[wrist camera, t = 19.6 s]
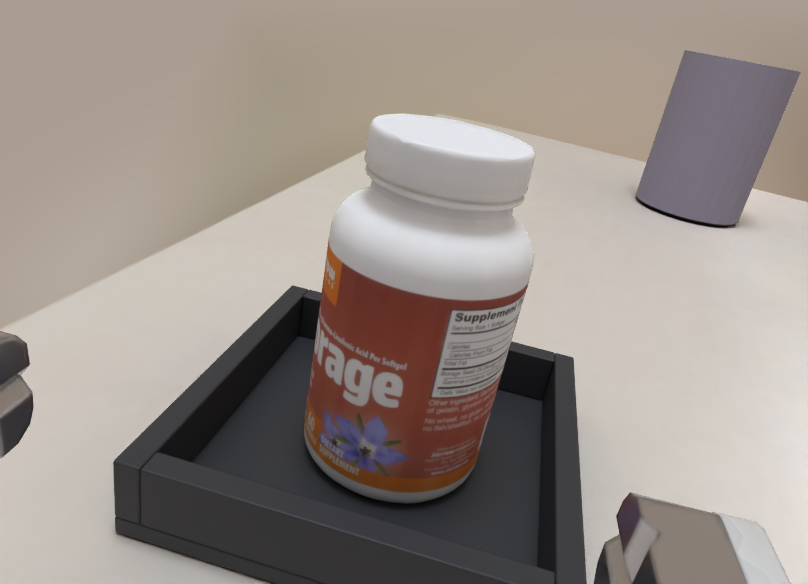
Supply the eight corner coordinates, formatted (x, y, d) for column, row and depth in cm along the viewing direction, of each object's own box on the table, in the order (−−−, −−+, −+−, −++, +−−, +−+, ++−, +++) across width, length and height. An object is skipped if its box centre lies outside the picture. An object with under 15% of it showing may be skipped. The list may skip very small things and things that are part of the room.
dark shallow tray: (114, 532, 18) (112, 460, 16) (286, 335, 29) (292, 284, 28) (558, 676, 16) (588, 608, 15) (557, 407, 27) (573, 357, 26)
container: (731, 211, 69) (789, 70, 63) (742, 236, 60) (811, 74, 54) (636, 188, 72) (682, 49, 65) (633, 208, 63) (687, 50, 56)
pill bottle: (270, 417, 22) (301, 101, 18) (407, 381, 26) (462, 111, 21) (364, 539, 18) (437, 165, 13) (511, 475, 22) (609, 163, 17)
